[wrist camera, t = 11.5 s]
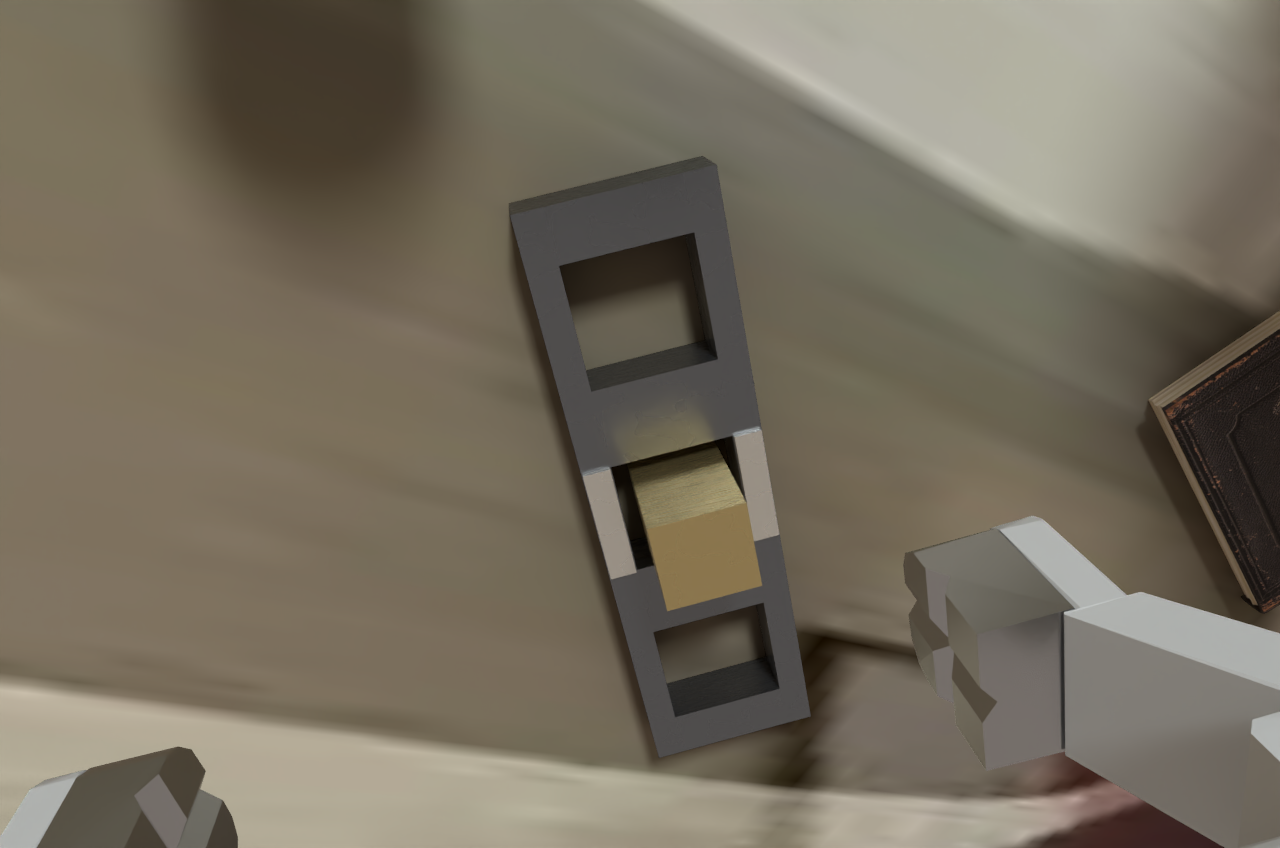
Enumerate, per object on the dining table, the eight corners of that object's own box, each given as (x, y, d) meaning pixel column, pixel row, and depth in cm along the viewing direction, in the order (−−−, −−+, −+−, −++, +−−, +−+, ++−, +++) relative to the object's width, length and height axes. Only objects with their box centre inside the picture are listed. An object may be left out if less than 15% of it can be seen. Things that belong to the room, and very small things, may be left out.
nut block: (708, 429, 41) (746, 502, 35) (723, 502, 43) (762, 585, 36) (623, 451, 41) (646, 529, 34) (642, 524, 42) (667, 611, 36)
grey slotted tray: (702, 155, 36) (717, 165, 33) (795, 683, 48) (811, 718, 45) (508, 203, 36) (509, 216, 33) (651, 722, 47) (659, 760, 45)
